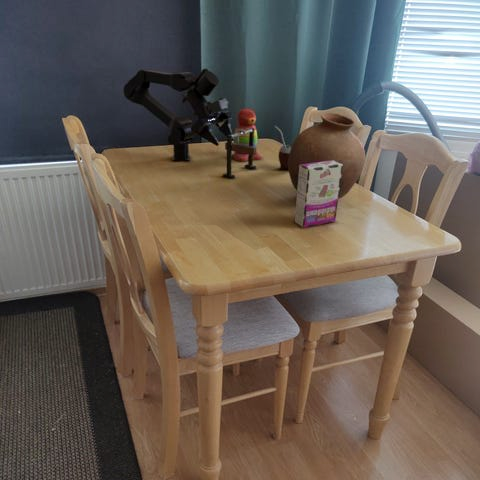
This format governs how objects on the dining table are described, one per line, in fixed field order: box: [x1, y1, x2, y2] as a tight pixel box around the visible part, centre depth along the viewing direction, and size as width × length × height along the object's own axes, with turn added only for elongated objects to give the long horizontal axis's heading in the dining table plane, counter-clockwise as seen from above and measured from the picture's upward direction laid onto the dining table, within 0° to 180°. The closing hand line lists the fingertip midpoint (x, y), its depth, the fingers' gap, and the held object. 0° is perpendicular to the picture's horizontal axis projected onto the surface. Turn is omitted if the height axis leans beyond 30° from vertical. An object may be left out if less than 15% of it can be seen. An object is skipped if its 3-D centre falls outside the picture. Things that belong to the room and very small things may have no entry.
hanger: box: [224, 129, 258, 155], centre depth 166 cm, size 12×2×8 cm, turn 56°
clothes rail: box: [222, 128, 257, 180], centre depth 169 cm, size 4×16×14 cm, turn 146°
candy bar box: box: [294, 160, 343, 229], centre depth 132 cm, size 11×5×16 cm, turn 117°
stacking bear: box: [232, 108, 263, 162], centre depth 185 cm, size 11×10×18 cm
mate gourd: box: [274, 125, 292, 171], centre depth 174 cm, size 8×8×15 cm
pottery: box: [287, 112, 366, 200], centre depth 146 cm, size 23×23×25 cm
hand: (225, 142), depth 170 cm, fingers open, 9 cm apart
